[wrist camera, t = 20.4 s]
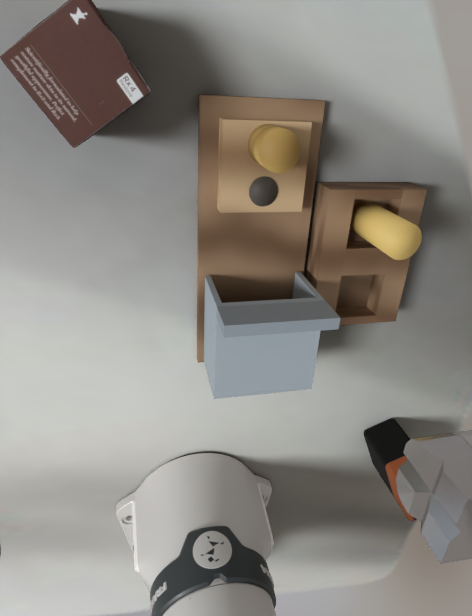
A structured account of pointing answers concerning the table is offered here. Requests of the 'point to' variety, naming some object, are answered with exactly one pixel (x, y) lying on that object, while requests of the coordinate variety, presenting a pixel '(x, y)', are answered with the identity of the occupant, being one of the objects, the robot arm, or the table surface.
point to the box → (76, 71)
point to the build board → (358, 250)
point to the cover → (264, 341)
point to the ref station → (254, 196)
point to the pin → (385, 230)
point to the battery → (388, 454)
